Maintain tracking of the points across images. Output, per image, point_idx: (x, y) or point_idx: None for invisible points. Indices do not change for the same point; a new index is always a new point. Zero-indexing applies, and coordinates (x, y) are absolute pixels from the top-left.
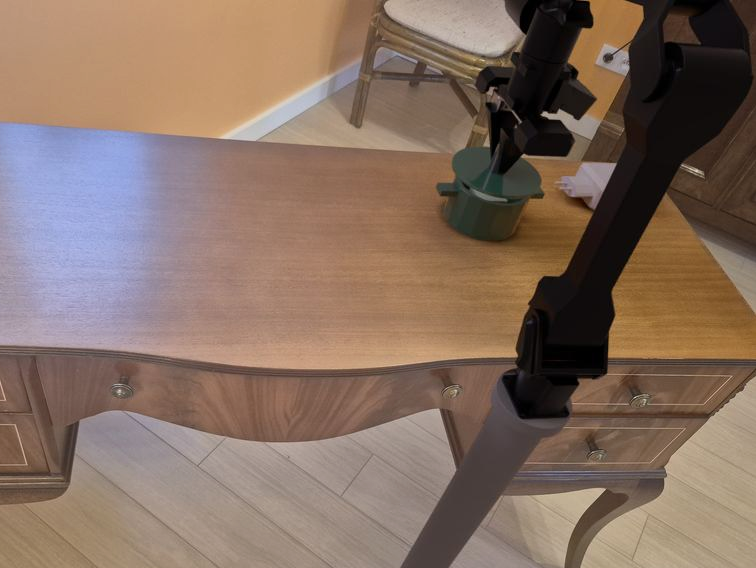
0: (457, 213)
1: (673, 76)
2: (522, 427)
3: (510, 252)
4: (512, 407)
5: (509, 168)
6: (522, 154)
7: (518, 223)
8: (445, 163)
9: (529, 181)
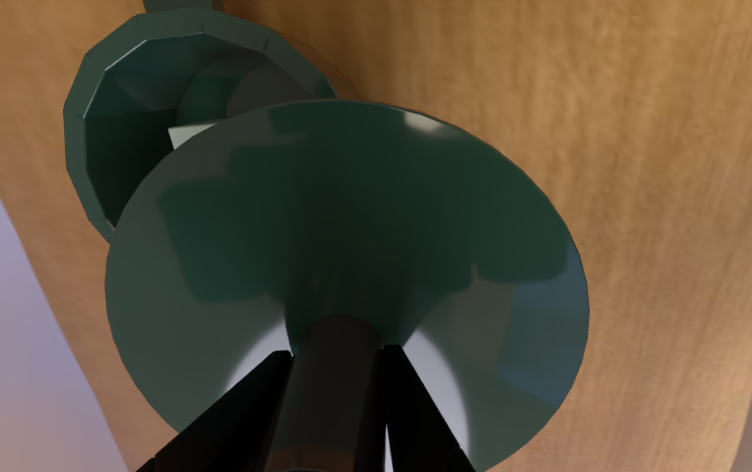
0: None
1: None
2: None
3: (424, 97)
4: None
5: (413, 368)
6: (471, 469)
7: (309, 46)
8: (5, 188)
9: (437, 203)
